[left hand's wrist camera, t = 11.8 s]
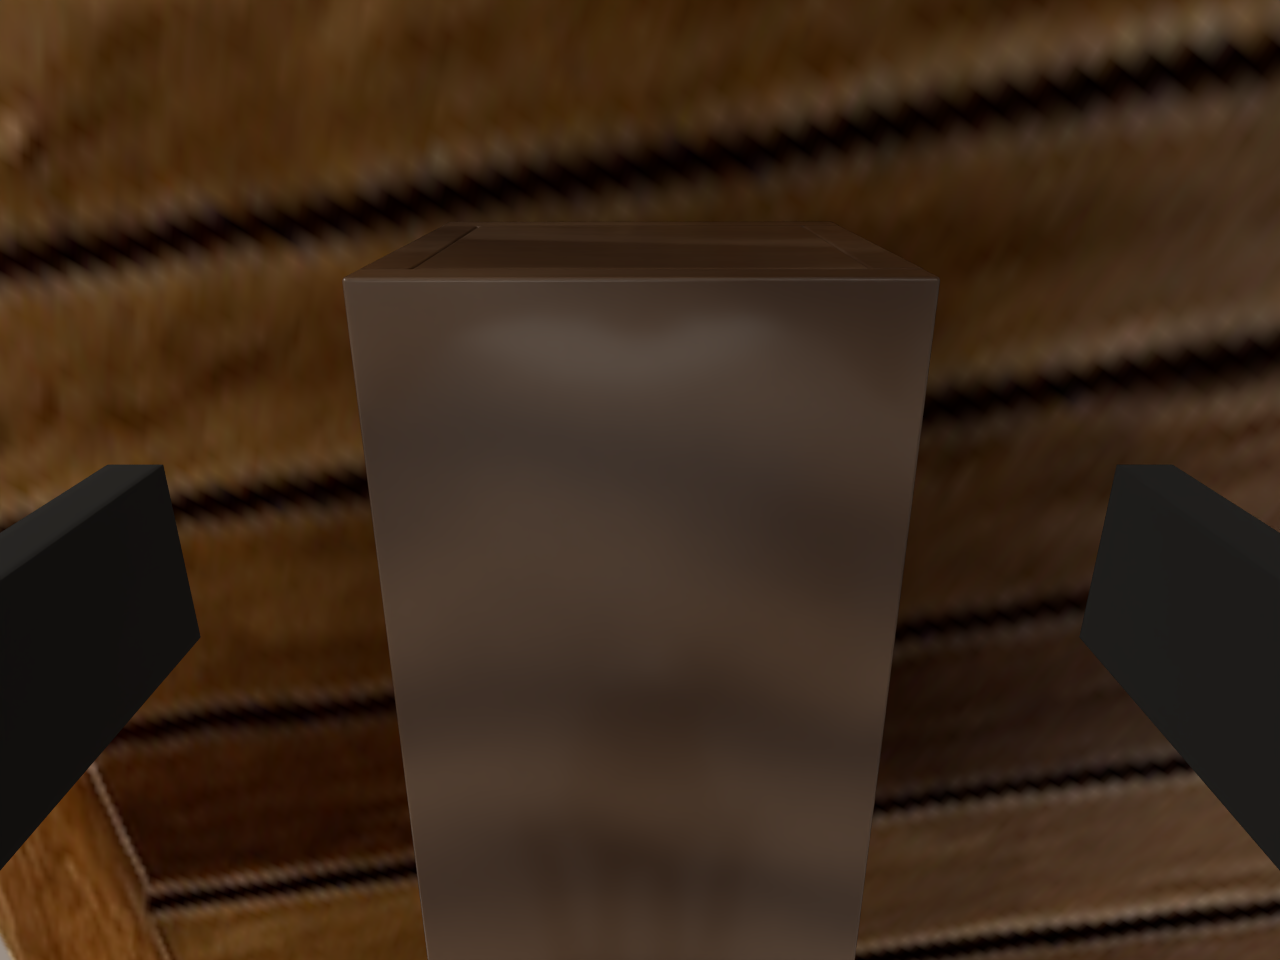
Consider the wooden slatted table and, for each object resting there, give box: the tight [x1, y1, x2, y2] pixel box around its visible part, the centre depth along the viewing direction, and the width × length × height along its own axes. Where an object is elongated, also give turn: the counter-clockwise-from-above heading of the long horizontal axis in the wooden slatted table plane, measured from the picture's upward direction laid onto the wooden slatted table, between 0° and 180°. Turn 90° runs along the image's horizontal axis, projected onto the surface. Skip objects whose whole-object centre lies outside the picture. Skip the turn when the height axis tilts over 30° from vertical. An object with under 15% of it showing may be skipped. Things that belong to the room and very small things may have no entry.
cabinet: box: [342, 222, 940, 960], centre depth 25 cm, size 21×12×10 cm, turn 0°
